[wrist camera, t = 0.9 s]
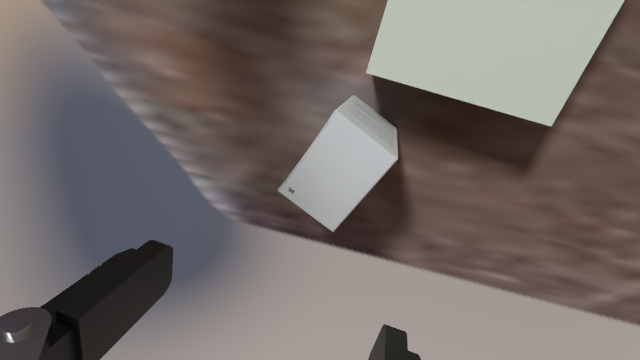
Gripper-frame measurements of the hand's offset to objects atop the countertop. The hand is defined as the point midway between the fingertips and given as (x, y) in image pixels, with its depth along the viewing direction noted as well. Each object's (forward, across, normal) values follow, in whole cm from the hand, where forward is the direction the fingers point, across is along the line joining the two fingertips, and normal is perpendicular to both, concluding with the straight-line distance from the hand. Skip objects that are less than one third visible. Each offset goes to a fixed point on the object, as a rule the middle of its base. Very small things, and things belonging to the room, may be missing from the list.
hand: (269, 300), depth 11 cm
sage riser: (+23, -7, -14) cm, 28 cm away
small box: (+23, 0, 0) cm, 23 cm away
